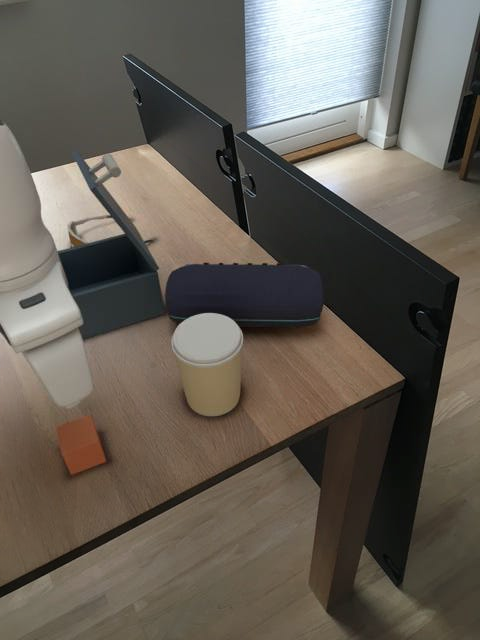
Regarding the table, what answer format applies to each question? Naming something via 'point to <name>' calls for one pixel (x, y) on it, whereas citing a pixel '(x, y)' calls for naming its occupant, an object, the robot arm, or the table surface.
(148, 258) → the lid
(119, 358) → the table surface
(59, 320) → the robot arm
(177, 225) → the table surface
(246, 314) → the portable speaker
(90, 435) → the block
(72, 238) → the sunglasses
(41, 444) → the table surface
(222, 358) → the coffee cup
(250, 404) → the table surface
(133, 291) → the open box
